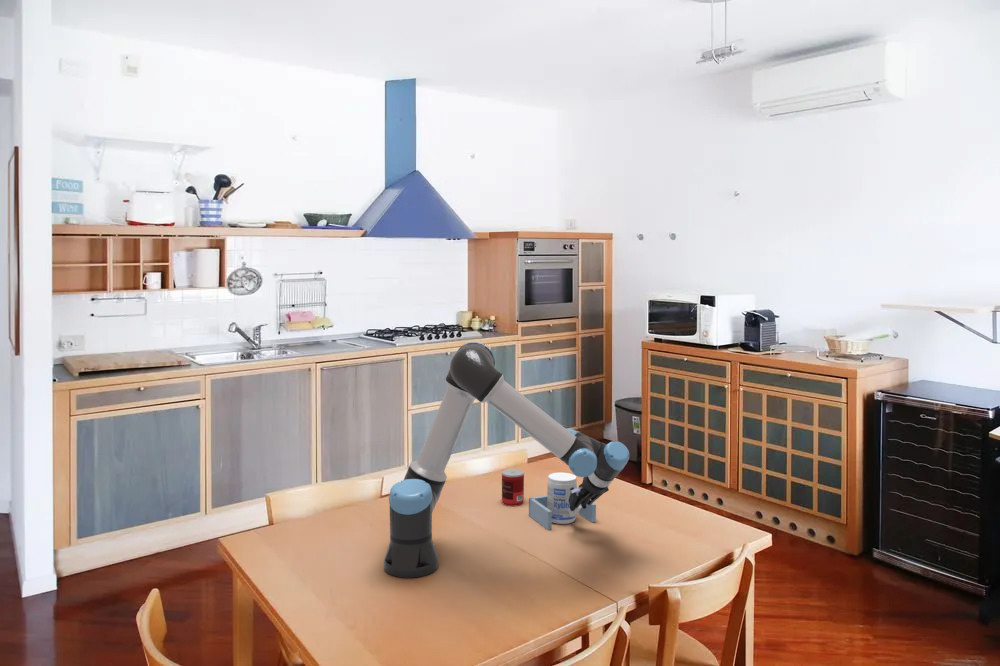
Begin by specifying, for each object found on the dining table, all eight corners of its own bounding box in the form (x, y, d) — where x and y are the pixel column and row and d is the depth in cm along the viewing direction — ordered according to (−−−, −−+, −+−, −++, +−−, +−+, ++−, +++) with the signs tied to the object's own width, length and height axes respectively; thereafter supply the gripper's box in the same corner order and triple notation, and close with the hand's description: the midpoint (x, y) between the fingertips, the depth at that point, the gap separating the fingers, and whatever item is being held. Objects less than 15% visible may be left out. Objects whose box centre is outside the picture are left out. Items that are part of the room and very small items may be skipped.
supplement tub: (554, 526, 240) (554, 482, 238) (542, 516, 248) (542, 473, 247) (581, 522, 243) (581, 478, 241) (568, 513, 252) (569, 470, 250)
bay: (595, 522, 243) (596, 504, 243) (548, 530, 237) (548, 511, 236) (574, 508, 256) (574, 491, 256) (528, 515, 249) (528, 498, 249)
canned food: (524, 499, 266) (524, 468, 264) (522, 506, 258) (523, 475, 257) (503, 498, 266) (503, 468, 265) (500, 505, 259) (500, 475, 257)
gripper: (584, 491, 219) (557, 526, 236) (622, 486, 224) (592, 521, 241) (575, 469, 223) (549, 505, 240) (613, 464, 228) (584, 500, 245)
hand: (571, 513), depth 240 cm, fingers closed
